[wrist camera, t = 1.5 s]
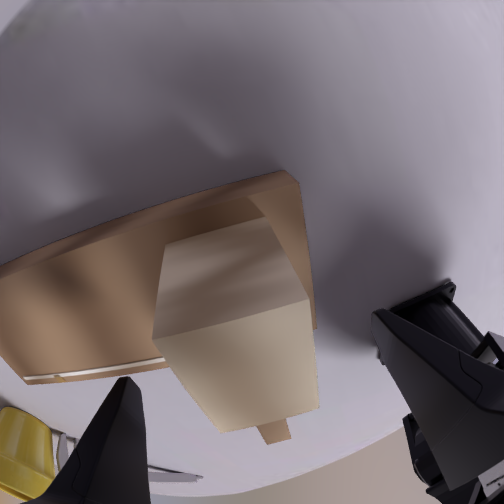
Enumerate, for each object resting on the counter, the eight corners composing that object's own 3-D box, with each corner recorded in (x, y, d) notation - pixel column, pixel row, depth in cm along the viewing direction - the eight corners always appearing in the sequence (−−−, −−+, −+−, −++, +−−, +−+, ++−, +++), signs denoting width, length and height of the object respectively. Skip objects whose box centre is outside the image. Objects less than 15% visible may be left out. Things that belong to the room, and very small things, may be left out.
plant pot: (13, 390, 17) (-9, 477, 9) (84, 441, 23) (79, 517, 14) (-23, 397, 18) (-42, 464, 9) (37, 442, 23) (29, 504, 15)
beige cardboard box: (265, 216, 11) (309, 298, 7) (294, 358, 16) (320, 433, 12) (165, 244, 11) (151, 340, 7) (226, 377, 16) (239, 454, 11)
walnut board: (284, 169, 12) (299, 183, 11) (305, 305, 17) (317, 329, 15) (-28, 279, 12) (-43, 299, 10) (34, 364, 16) (27, 385, 14)
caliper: (59, 431, 22) (52, 478, 16) (62, 429, 22) (55, 478, 16) (198, 476, 31) (203, 513, 26) (203, 474, 31) (208, 512, 26)
